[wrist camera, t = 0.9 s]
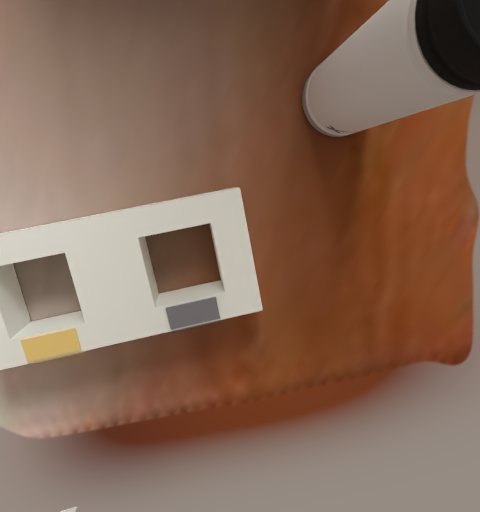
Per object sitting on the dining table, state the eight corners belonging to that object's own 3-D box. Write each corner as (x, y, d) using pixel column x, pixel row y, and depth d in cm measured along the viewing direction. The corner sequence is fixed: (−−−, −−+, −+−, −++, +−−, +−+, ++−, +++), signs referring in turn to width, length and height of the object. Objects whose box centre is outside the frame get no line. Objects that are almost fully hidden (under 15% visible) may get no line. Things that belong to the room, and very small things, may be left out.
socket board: (-32, 239, 31) (-65, 247, 27) (233, 187, 33) (240, 187, 29) (7, 355, 33) (-18, 379, 29) (255, 299, 35) (263, 314, 31)
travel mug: (327, 155, 34) (518, 113, 14) (287, 88, 32) (437, -60, 13) (385, 113, 34) (654, 16, 14) (347, 45, 32) (589, -168, 13)
